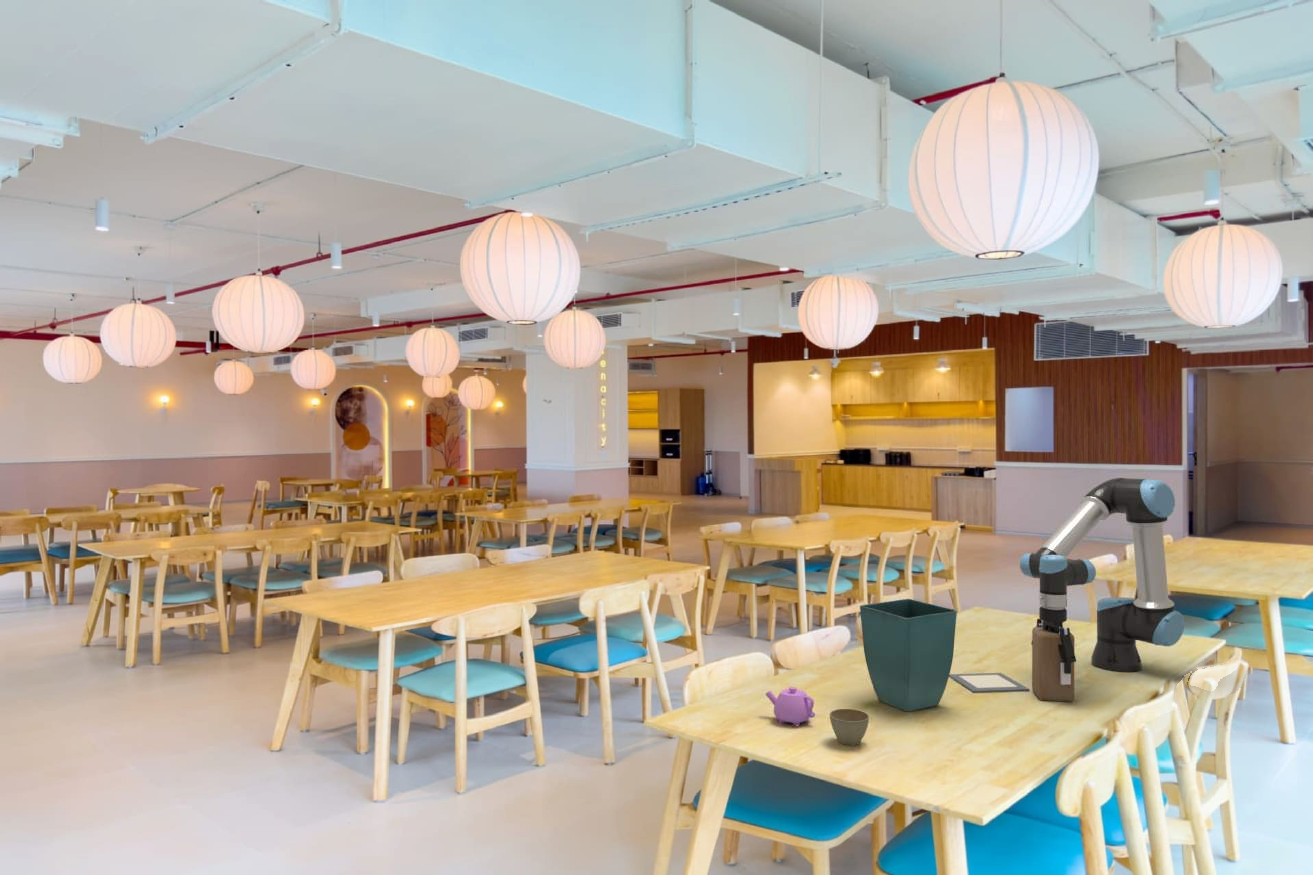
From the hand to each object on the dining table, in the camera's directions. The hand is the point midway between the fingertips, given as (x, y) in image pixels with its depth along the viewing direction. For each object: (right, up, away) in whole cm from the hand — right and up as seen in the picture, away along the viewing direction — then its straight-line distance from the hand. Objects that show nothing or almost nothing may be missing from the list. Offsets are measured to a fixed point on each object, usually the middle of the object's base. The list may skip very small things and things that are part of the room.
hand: (1052, 677), depth 262 cm
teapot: (-82, -6, -21) cm, 85 cm away
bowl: (-70, -6, -38) cm, 80 cm away
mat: (-14, -6, +14) cm, 21 cm away
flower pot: (-46, -6, -6) cm, 46 cm away
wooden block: (0, -6, 0) cm, 6 cm away
